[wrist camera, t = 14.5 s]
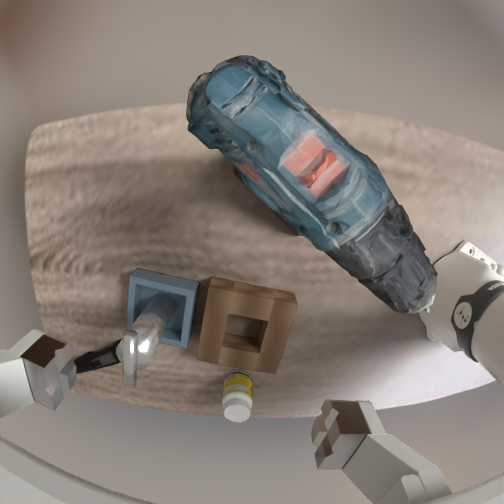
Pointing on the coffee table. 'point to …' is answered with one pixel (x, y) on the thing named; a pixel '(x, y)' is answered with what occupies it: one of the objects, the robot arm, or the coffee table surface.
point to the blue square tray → (179, 289)
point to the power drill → (312, 178)
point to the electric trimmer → (97, 359)
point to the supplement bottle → (237, 396)
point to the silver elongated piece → (144, 337)
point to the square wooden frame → (253, 306)
